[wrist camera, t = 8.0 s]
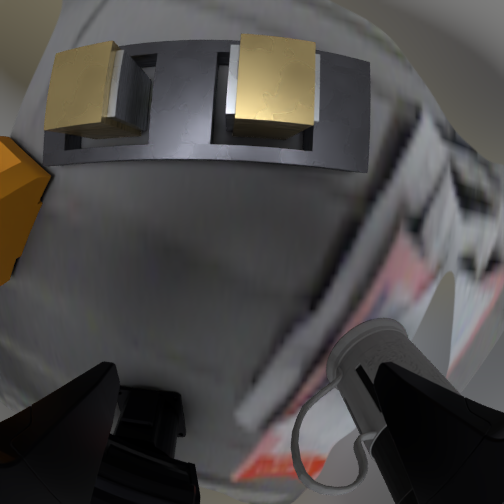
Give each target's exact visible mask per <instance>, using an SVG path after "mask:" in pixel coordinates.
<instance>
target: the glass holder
mask: <svg viewBox="0 0 504 504" xmlns="http://www.w3.org/2000/svg"><path fill="white" fill-rule="evenodd" d="M389 361H391V362H393V363H395V364H397V365H399V366H401V367H403V368H405V369H407V370H409V371H411V372H414V373H416V374H418V375H420V376H422V377H424V378H426V379H428V380H430V381H432V382H434V383H436V384H438V385H440V386H442V387H445V388H447V389H449V390H451V391H453V392H455V393H457V394H459V392H458V391H457V390H456V389H455V388H454V387H453V386H452V385H451V384H450V382H449V381H448V380H447V379H446V378H445V377H444V376H443V375H442V374H441V373H440V372H439V370H438V369H437V368H436V367H435V366H434V365H433V364H432V363H431V362H430V361H429V360H428V359H427V358H426V357H425V356H424V355H423V354H422V352H421V351H420V350H419V349H418V348H417V347H416V346H415V345H414V344H413V343H412V342H411V341H410V340H409V339H408V335H407V333H406V330H405V329H404V327H403V326H402V325H401V324H400V323H399V322H397V321H395V320H393V319H388V318H377V319H373V320H369V321H366V322H364V323H362V324H360V325H358V326H356V327H354V328H353V329H352V330H350V331H349V332H347V333H346V334H345V335H344V336H343V337H342V338H341V339H340V340H339V341H338V343H337V344H336V345H335V347H334V348H333V350H332V351H331V353H330V356H329V358H328V361H327V366H326V373H327V377H328V380H329V382H330V383H329V384H328V385H327V386H325V387H324V388H323V389H321V390H320V391H319V392H318V393H317V394H316V395H314V396H313V397H312V398H311V399H309V400H308V401H307V402H306V403H305V404H304V405H303V406H302V408H301V410H300V412H299V414H298V416H297V419H296V422H295V425H294V428H293V431H292V438H291V452H292V459H293V466H294V468H295V471H296V473H297V475H298V478H299V480H300V481H301V482H302V483H303V484H304V485H305V486H306V487H307V488H309V489H311V490H313V491H315V492H317V493H320V494H325V495H342V494H346V493H348V492H350V491H352V490H354V489H356V488H357V487H358V485H360V484H361V483H362V481H363V480H364V478H365V476H366V474H367V471H368V461H367V458H366V454H365V452H364V449H363V447H362V444H361V441H363V442H364V444H365V446H366V448H367V450H368V452H369V454H370V456H371V458H372V459H373V460H374V461H376V463H377V465H378V468H379V470H380V471H381V474H382V476H383V478H384V480H385V483H386V485H387V487H388V489H389V491H390V493H391V495H392V498H393V500H394V502H395V504H418V501H417V498H416V496H415V493H414V491H413V488H412V485H411V483H410V480H409V478H408V475H407V473H406V470H405V468H404V465H403V463H402V460H401V458H400V455H399V453H398V451H397V448H396V446H395V443H394V441H393V439H392V436H391V434H390V432H389V429H388V427H387V425H386V422H385V420H384V417H383V414H382V411H381V407H380V404H379V401H378V398H377V395H376V391H375V388H374V378H375V376H376V373H377V370H378V367H379V365H380V364H381V363H382V362H389ZM334 387H335V388H336V389H337V390H339V391H340V393H341V396H342V398H343V400H344V402H345V404H346V406H347V408H348V410H349V412H350V414H351V416H352V418H353V421H354V423H355V425H356V427H357V429H358V431H359V433H360V435H359V436H358V438H357V439H356V441H355V442H354V452H355V455H356V458H357V460H358V465H359V475H358V477H357V479H356V481H354V483H352V484H350V485H348V486H344V487H332V486H325V485H323V484H320V483H318V482H316V481H314V480H313V479H312V478H311V477H310V476H309V475H308V474H307V473H306V470H305V468H304V466H303V463H302V461H301V458H300V451H299V444H298V440H299V429H300V426H301V423H302V420H303V418H304V416H305V414H306V412H307V411H308V410H309V409H310V408H311V406H312V405H314V404H315V403H316V402H317V401H318V400H319V399H320V398H321V397H323V396H324V395H326V394H327V393H328V392H329V391H331V390H332V389H333V388H334ZM459 395H460V394H459Z"/></svg>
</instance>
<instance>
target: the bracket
mask: <svg viewBox="0 0 504 504" xmlns="http://www.w3.org/2000/svg"><path fill="white" fill-rule="evenodd" d="M50 178H51V175H50V174H48V173H47V172H46V171H45V170H44V169H43V168H42V167H41V166H40V165H38V164H37V163H36V162H35V161H34V160H33V159H32V158H31V157H30V156H29V155H28V154H26V153H25V152H24V151H23V150H22V149H21V148H20V147H19V146H18V145H17V144H16V143H15V142H14V141H13V140H12V139H11V138H10V137H6V136H0V286H1V285H3V284H4V283H6V282H7V281H9V280H10V277H11V273H12V270H13V267H14V264H15V261H16V258H18V257H20V256H21V255H22V252H23V249H24V246H25V244H26V241H27V239H28V236H29V234H30V231H31V229H32V226H33V224H34V221H35V219H36V217H37V214H38V212H39V210H40V208H41V206H42V202H41V201H40V198H41V196H42V194H43V192H44V190H45V188H46V186H47V184H48V182H49V180H50Z"/></svg>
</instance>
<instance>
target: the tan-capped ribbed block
mask: <svg viewBox="0 0 504 504" xmlns="http://www.w3.org/2000/svg"><path fill="white" fill-rule="evenodd" d="M150 85H151V79H150V78H149V77H148V76H147V75H146V74H145V72H144V71H143V70H142V69H141V68H140V67H139V66H138V65H137V63H136V62H135V61H134V60H133V59H132V58H131V57H130V56H129V55H128V53H127V52H126V51H125V50H121V49H120V48H119V47H118V45H117V44H116V43H115V42H114V41H108V42H102V43H97V44H92V45H88V46H83V47H79V48H75V49H71V50H67V51H63V52H60V53H56V55H55V60H54V64H53V69H52V74H51V80H50V85H49V92H48V98H47V105H46V113H45V123H44V130H45V131H51V132H58V133H64V134H70V135H75V136H81V137H86V138H92V139H106V138H119V137H135V136H141V131H146V127H147V114H148V104H149V94H150Z"/></svg>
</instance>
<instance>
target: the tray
mask: <svg viewBox="0 0 504 504" xmlns="http://www.w3.org/2000/svg"><path fill="white" fill-rule="evenodd" d="M231 45H240V41H233V40H180V41H163V42H151V43H141V44H133V45H125V46H119V48H120V49H121V50H125V51H126V52H127V53H128V55H129V56H130V57H131V58H132V59H133V60H134V61H135V62H136V63H137V65H138V66H139V67H151V66H156V69H155V77H154V85H153V94H152V104H151V115H150V127H149V142H148V145H125V146H109V147H96V148H85V149H81V136H75V135H70V134H64V133H58V132H51V131H45V135H44V151H43V166H61V165H72V164H84V163H98V162H116V161H142V160H209V161H237V162H255V163H270V164H283V165H295V166H305V167H315V168H324V169H332V170H341V171H348V172H361V173H367V172H368V157H369V138H370V62H366V61H363V60H359V59H355V58H351V57H347V56H343V55H338V54H334V53H329V52H324V51H319V50H315V54H320V100H319V122H317V123H315V124H314V125H313V126H311V127H309V128H307V129H305V130H304V134H303V150H294V149H283V148H271V147H258V146H241V145H217V144H213V128H214V114H215V100H216V88H217V76H218V65H229V62H230V50H231Z"/></svg>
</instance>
